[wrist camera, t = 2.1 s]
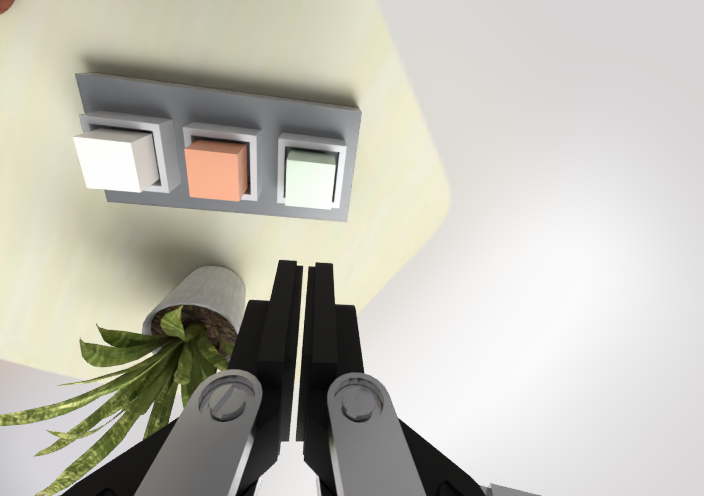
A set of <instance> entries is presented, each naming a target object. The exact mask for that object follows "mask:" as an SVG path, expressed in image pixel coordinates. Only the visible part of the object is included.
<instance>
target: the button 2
mask: <svg viewBox="0 0 704 496" xmlns="http://www.w3.org/2000/svg"><path fill="white" fill-rule="evenodd" d="M184 151H185V159H186V168H187V176H188V184H189V193H190V197H195V198H206V199H217V200H229V201H240V200H241V198H242V196H243V194H244V193H245V191H246V189H247V188H248V185H247V148H246V144H237V143H228V142H219V141H210V140H202V139H199V140H197V141H196V142H194V143H192V144H191V145H189V146H188V147H186V148H185V149H184Z"/></svg>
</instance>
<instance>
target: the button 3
mask: <svg viewBox="0 0 704 496" xmlns="http://www.w3.org/2000/svg"><path fill="white" fill-rule="evenodd" d="M335 167H336V164H335V157H334V154H325V153H317V152H308V151H299V150H290V152H289V155H288V158H287V166H286V196H285V206H296V207H307V208H318V209H329V210H331V204H332V195H333V186H334V176H335Z"/></svg>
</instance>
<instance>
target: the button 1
mask: <svg viewBox="0 0 704 496" xmlns="http://www.w3.org/2000/svg"><path fill="white" fill-rule="evenodd" d="M73 140H74V143H75V147H76V150H77V154H78V158H79V161H80V165H81V168H82V172H83V175H84V179H85V183H86V186H87V188H95V189H106V190H117V191H128V192H139V193H141V192H142V191H143V190H145V189H146V188H148V187H149V186H150V185H152V184H153V183H154V182H156V181H157V180H159V175H158V168H157V162H156V156H155V150H154V144H153V138H152V134H148V133H140V132H131V131H122V130H113V129H104V128H100V129H96V130H93V131H90V132H86V133H83V134H80V135H76V136H73Z"/></svg>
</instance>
